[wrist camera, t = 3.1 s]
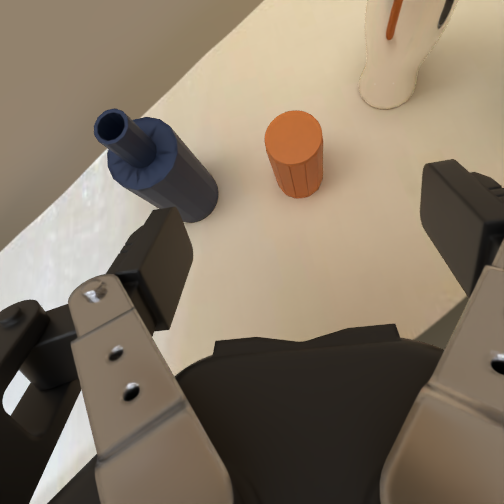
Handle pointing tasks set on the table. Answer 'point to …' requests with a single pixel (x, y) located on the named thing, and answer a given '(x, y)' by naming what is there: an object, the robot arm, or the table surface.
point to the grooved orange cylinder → (296, 152)
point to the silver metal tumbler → (399, 46)
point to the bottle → (156, 164)
